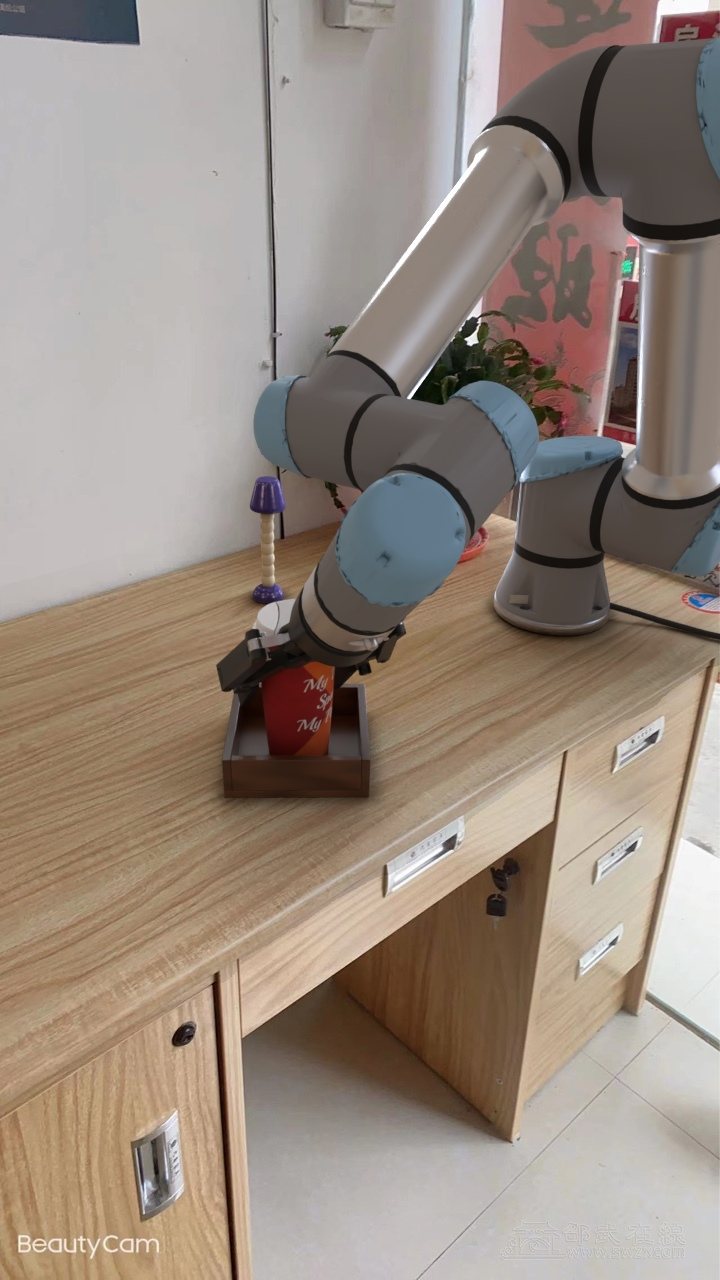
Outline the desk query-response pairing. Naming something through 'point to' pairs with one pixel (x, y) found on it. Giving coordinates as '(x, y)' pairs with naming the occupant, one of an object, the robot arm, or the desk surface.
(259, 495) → the toy lamp
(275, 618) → the coffee cup
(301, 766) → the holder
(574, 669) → the desk surface
